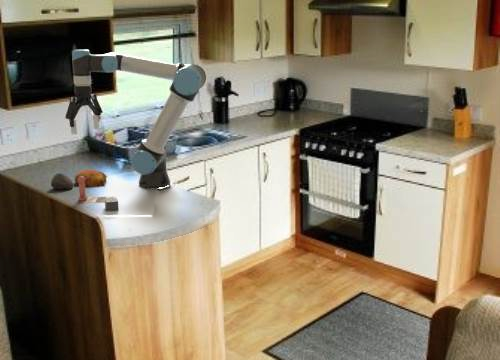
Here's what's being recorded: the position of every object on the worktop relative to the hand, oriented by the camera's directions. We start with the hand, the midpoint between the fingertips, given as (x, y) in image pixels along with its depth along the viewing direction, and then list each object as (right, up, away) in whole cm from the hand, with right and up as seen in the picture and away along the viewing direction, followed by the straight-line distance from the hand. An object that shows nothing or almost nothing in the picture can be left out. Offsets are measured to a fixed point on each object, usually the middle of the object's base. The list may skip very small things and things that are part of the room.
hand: (85, 131), depth 282 cm
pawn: (+1, -31, -8) cm, 32 cm away
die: (+16, -36, -19) cm, 43 cm away
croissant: (-2, -24, +20) cm, 32 cm away
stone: (-14, -27, +11) cm, 32 cm away
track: (+7, -32, -7) cm, 33 cm away
